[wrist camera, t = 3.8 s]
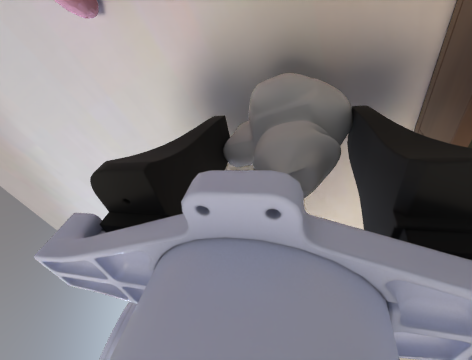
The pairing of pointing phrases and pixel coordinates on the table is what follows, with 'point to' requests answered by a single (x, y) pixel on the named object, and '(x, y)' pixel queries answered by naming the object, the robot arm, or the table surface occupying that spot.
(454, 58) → the caddy
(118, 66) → the table surface
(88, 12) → the video game controller
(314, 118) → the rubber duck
